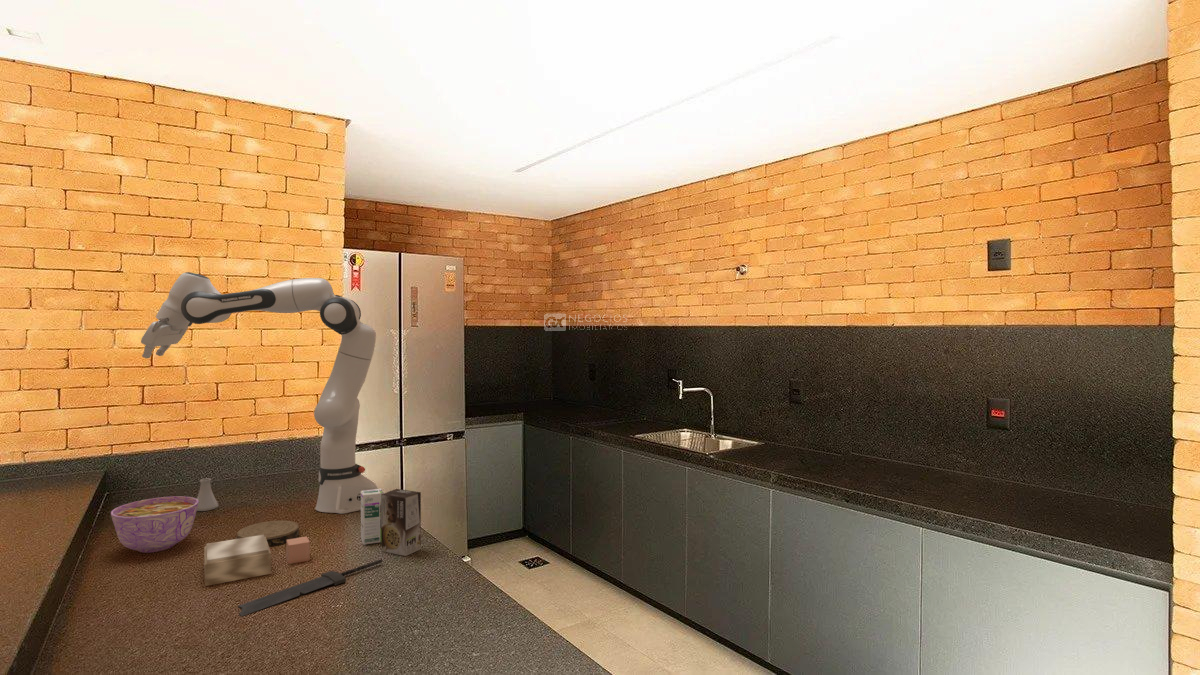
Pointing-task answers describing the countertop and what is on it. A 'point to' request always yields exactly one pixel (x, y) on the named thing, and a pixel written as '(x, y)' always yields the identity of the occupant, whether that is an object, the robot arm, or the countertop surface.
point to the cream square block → (236, 559)
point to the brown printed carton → (401, 522)
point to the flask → (206, 496)
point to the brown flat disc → (271, 531)
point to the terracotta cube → (297, 550)
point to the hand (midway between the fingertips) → (152, 356)
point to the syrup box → (371, 516)
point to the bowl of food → (154, 522)
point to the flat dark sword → (299, 589)
